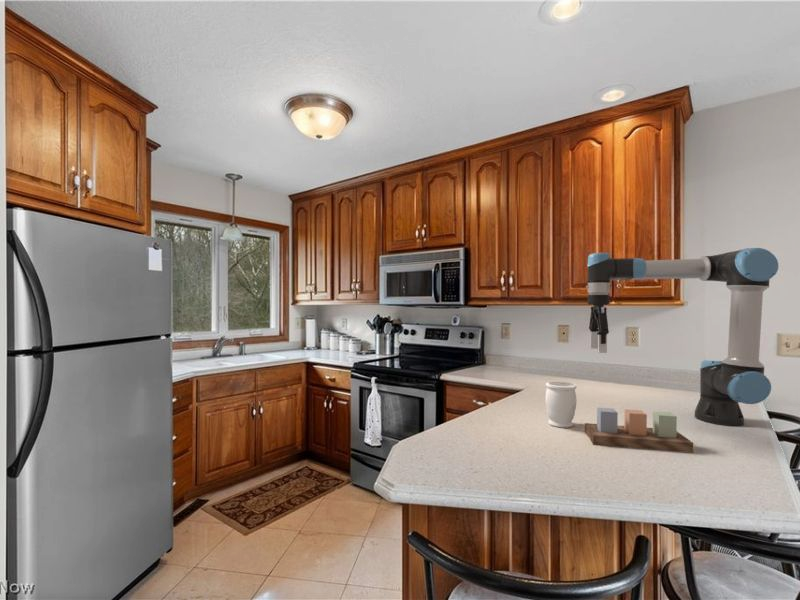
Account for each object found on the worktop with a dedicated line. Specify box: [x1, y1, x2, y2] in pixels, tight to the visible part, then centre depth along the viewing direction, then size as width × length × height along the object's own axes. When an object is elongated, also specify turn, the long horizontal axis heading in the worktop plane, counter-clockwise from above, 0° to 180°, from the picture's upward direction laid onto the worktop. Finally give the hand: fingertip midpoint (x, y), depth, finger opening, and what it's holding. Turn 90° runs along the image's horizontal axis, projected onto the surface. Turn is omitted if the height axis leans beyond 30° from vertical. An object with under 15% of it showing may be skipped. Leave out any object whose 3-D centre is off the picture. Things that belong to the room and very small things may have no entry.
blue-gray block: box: [596, 407, 619, 434], centre depth 136 cm, size 5×5×8 cm
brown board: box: [584, 422, 694, 454], centre depth 134 cm, size 28×13×3 cm, turn 77°
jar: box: [544, 381, 577, 429], centre depth 151 cm, size 11×10×15 cm
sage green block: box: [652, 410, 678, 438], centre depth 132 cm, size 5×5×8 cm
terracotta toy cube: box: [623, 409, 648, 436], centre depth 134 cm, size 5×5×8 cm
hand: (598, 350), depth 155 cm, fingers open, 13 cm apart
